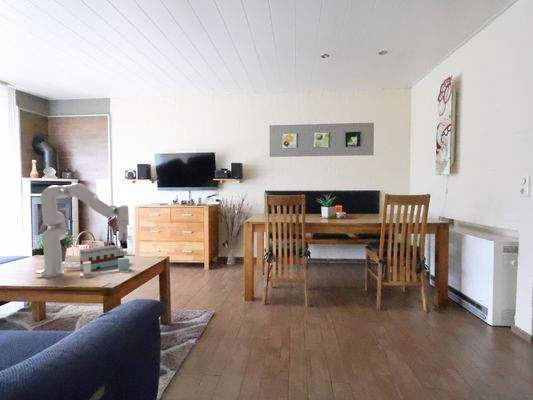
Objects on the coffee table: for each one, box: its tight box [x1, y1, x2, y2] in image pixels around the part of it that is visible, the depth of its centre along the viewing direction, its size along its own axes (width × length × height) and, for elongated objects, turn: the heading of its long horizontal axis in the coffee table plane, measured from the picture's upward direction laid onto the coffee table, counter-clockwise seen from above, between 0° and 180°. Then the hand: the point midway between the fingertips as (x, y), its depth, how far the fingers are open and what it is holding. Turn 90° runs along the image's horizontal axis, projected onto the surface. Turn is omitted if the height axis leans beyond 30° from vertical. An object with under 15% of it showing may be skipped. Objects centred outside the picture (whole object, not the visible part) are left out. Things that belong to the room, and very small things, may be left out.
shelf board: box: [79, 267, 132, 278], centre depth 206 cm, size 30×11×2 cm, turn 122°
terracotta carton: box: [82, 261, 92, 275], centre depth 200 cm, size 4×7×8 cm
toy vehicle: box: [79, 244, 128, 271], centre depth 224 cm, size 8×30×15 cm, turn 143°
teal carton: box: [117, 256, 130, 271], centre depth 212 cm, size 4×7×8 cm, turn 122°
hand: (123, 247), depth 212 cm, fingers open, 9 cm apart
